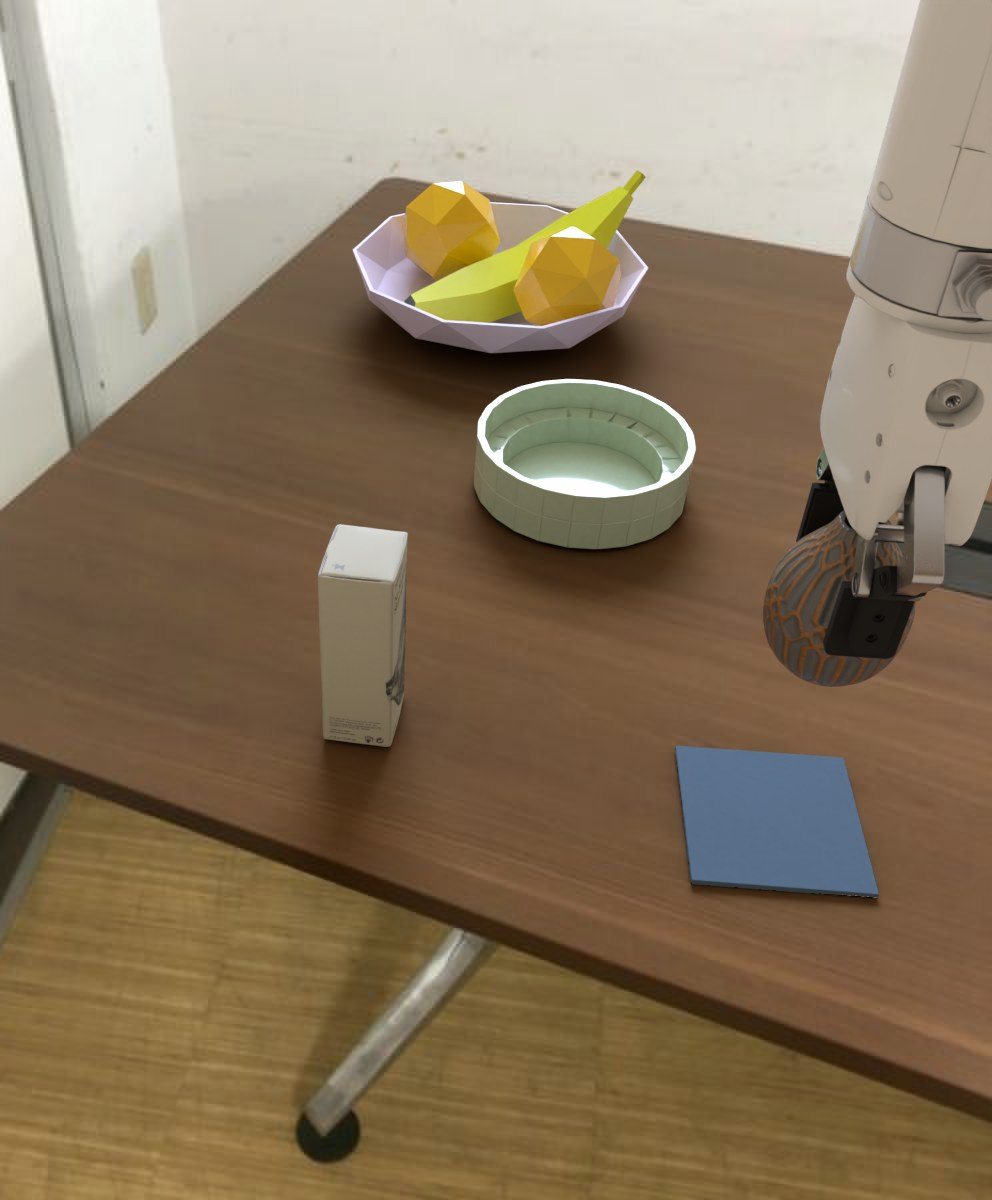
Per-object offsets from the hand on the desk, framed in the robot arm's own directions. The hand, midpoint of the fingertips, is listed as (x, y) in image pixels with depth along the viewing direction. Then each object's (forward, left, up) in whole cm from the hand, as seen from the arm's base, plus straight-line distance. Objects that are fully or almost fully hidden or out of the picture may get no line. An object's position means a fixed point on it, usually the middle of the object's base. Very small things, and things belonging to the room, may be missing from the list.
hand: (841, 597), depth 60 cm
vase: (0, 0, -4) cm, 4 cm away
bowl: (+10, -32, -17) cm, 37 cm away
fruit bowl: (+16, -60, -17) cm, 64 cm away
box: (+24, -6, -17) cm, 30 cm away
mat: (0, 0, -17) cm, 17 cm away
